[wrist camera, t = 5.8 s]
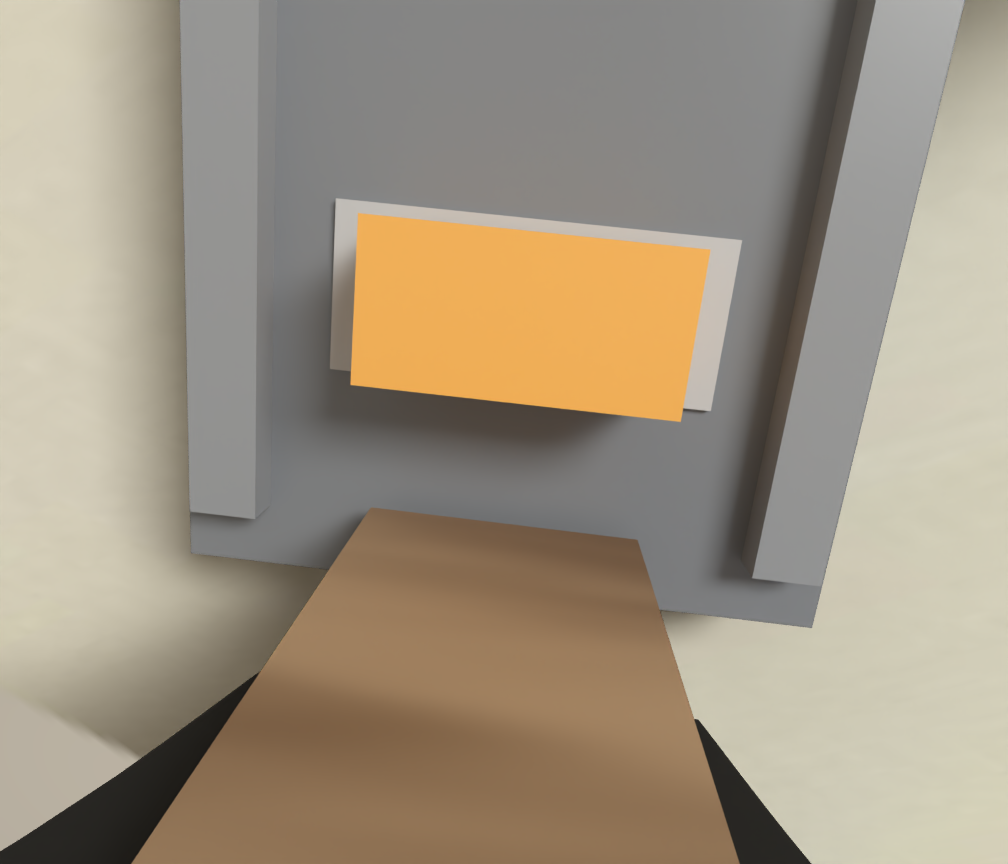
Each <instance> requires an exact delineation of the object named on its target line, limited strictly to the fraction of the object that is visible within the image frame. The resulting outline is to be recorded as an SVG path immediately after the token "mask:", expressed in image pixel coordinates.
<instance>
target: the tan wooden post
mask: <svg viewBox="0 0 1008 864" xmlns="http://www.w3.org/2000/svg"><path fill="white" fill-rule="evenodd" d="M132 864H740V863H739V860H738V857H737V854H736V851H735V848H734V844H733V841H732V838H731V835H730V832H729V828H728V825H727V822H726V819H725V816H724V813H723V809H722V806H721V803H720V800H719V797H718V794H717V790H716V787H715V784H714V781H713V778H712V774H711V771H710V768H709V765H708V762H707V759H706V755H705V752H704V749H703V746H702V743H701V740H700V736H699V733H698V730H697V727H696V724H695V721H694V717H693V714H692V711H691V708H690V705H689V701H688V698H687V695H686V692H685V689H684V686H683V682H682V679H681V676H680V673H679V670H678V667H677V663H676V660H675V657H674V654H673V651H672V648H671V644H670V641H669V638H668V635H667V632H666V628H665V625H664V622H663V619H662V616H661V613H660V609H659V606H658V603H657V600H656V597H655V594H654V590H653V587H652V584H651V581H650V578H649V574H648V571H647V568H646V565H645V562H644V559H643V555H642V552H641V549H640V546H639V543H638V540H636V539H628V538H619V537H611V536H603V535H595V534H586V533H578V532H570V531H562V530H554V529H545V528H537V527H529V526H521V525H513V524H504V523H496V522H488V521H480V520H472V519H463V518H455V517H447V516H439V515H430V514H422V513H414V512H406V511H398V510H389V509H381V508H373V507H371V508H370V509H369V511H368V512H367V514H366V515H365V517H364V518H363V520H362V521H361V523H360V524H359V526H358V527H357V529H356V530H355V532H354V533H353V535H352V536H351V538H350V539H349V541H348V542H347V544H346V545H345V547H344V548H343V550H342V551H341V553H340V554H339V556H338V557H337V559H336V560H335V562H334V563H333V564H332V566H331V567H330V569H329V570H328V572H327V573H326V575H325V576H324V578H323V579H322V581H321V582H320V584H319V585H318V587H317V588H316V590H315V591H314V593H313V594H312V596H311V597H310V599H309V600H308V602H307V603H306V605H305V606H304V608H303V609H302V611H301V612H300V614H299V615H298V617H297V618H296V620H295V621H294V623H293V624H292V626H291V627H290V628H289V630H288V631H287V633H286V634H285V636H284V637H283V639H282V640H281V642H280V643H279V645H278V646H277V648H276V649H275V651H274V652H273V654H272V655H271V657H270V658H269V660H268V661H267V663H266V664H265V666H264V667H263V669H262V670H261V672H260V673H259V675H258V676H257V678H256V679H255V681H254V682H253V684H252V685H251V687H250V688H249V689H248V691H247V692H246V694H245V695H244V697H243V698H242V700H241V701H240V703H239V704H238V706H237V707H236V709H235V710H234V712H233V713H232V715H231V716H230V718H229V719H228V721H227V722H226V724H225V725H224V727H223V728H222V730H221V731H220V733H219V734H218V736H217V737H216V739H215V740H214V742H213V743H212V745H211V746H210V748H209V749H208V750H207V752H206V753H205V755H204V756H203V758H202V759H201V761H200V762H199V764H198V765H197V767H196V768H195V770H194V771H193V773H192V774H191V776H190V777H189V779H188V780H187V782H186V783H185V785H184V786H183V788H182V789H181V791H180V792H179V794H178V795H177V797H176V798H175V800H174V801H173V803H172V804H171V806H170V807H169V809H168V810H167V812H166V813H165V814H164V816H163V817H162V819H161V820H160V822H159V823H158V825H157V826H156V828H155V829H154V831H153V832H152V834H151V835H150V837H149V838H148V840H147V841H146V843H145V844H144V846H143V847H142V849H141V850H140V852H139V853H138V855H137V856H136V858H135V859H134V861H133V862H132Z"/></svg>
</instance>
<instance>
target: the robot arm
mask: <svg viewBox="0 0 1008 864" xmlns="http://www.w3.org/2000/svg"><path fill="white" fill-rule="evenodd" d="M260 672H261V671H260ZM260 672H259V673H260ZM259 673H257V674H256V675H254V676H253V677H252V678H250V679H249V680H248V681H246V682H245V683H244V684H242V685H241V686H239V687H238V688H237V689H235V690H234V691H233V692H231V693H230V694H229V695H227V696H226V697H225V698H223V699H222V700H220V701H219V702H218V703H216V704H215V705H214V706H212V707H211V708H210V709H208V710H207V711H206V712H204V713H203V714H202V715H200V716H199V717H198V718H196V719H195V720H194V721H192V722H191V723H189V724H188V725H187V726H185V727H184V728H183V729H181V730H180V731H179V732H177V733H176V734H175V735H173V736H172V737H170V738H169V739H168V740H166V741H165V742H163V743H162V744H161V745H159V746H158V747H156V748H155V749H154V750H152V751H151V752H149V753H148V754H147V755H145V756H144V757H142V758H141V759H140V760H138V761H137V762H135V763H134V764H132V765H131V766H130V767H128V768H127V769H126V770H124V771H123V772H121V773H120V774H118V775H117V776H116V777H114V778H112V779H111V780H109V781H108V782H106V783H105V784H103V785H102V786H100V787H99V788H97V789H96V790H94V791H93V792H91V793H90V794H88V795H87V796H85V797H84V798H82V799H81V800H79V801H78V802H76V803H75V804H73V805H71V806H70V807H68V808H67V809H65V810H64V811H63V812H61V813H59V814H58V815H56V816H55V817H53V818H52V819H50V820H49V821H47V822H46V823H44V824H43V825H41V826H40V827H38V828H37V829H35V830H33V831H32V832H30V833H29V834H27V835H26V836H24V837H23V838H21V839H20V840H18V841H16V842H15V843H13V844H12V845H10V846H8V847H7V848H5V849H3V850H2V851H0V864H132V862H133V861H134V859H135V858H136V856H137V855H138V853H139V852H140V850H141V849H142V847H143V846H144V844H145V843H146V841H147V840H148V838H149V837H150V835H151V834H152V832H153V831H154V829H155V828H156V826H157V825H158V823H159V822H160V820H161V819H162V817H163V816H164V814H165V813H166V812H167V810H168V809H169V807H170V806H171V804H172V803H173V801H174V800H175V798H176V797H177V795H178V794H179V792H180V791H181V789H182V788H183V786H184V785H185V783H186V782H187V780H188V779H189V777H190V776H191V774H192V773H193V771H194V770H195V768H196V767H197V765H198V764H199V762H200V761H201V759H202V758H203V756H204V755H205V753H206V752H207V750H208V749H209V748H210V746H211V745H212V743H213V742H214V740H215V739H216V737H217V736H218V734H219V733H220V731H221V730H222V728H223V727H224V725H225V724H226V722H227V721H228V719H229V718H230V716H231V715H232V713H233V712H234V710H235V709H236V707H237V706H238V704H239V703H240V701H241V700H242V698H243V697H244V695H245V694H246V692H247V691H248V689H249V688H250V687H251V685H252V684H253V682H254V681H255V679H256V678H257V676H258V675H259ZM694 721H695V724H696V727H697V730H698V733H699V736H700V740H701V743H702V746H703V749H704V752H705V755H706V759H707V762H708V765H709V768H710V771H711V774H712V778H713V781H714V784H715V787H716V790H717V794H718V797H719V800H720V803H721V806H722V809H723V813H724V816H725V819H726V822H727V825H728V828H729V832H730V835H731V838H732V841H733V844H734V848H735V851H736V854H737V857H738V860H739V863H740V864H811V863H810V862H809V860H808V859H807V858H806V857H805V855H804V854H803V853H802V852H801V851H800V849H799V848H798V847H797V846H796V844H795V843H794V842H793V841H792V840H791V838H790V837H789V836H788V835H787V834H786V832H785V831H784V830H783V828H782V827H781V826H780V825H779V823H778V822H777V821H776V820H775V818H774V817H773V816H772V815H771V813H770V812H769V811H768V810H767V808H766V807H765V806H764V804H763V803H762V802H761V800H760V799H759V798H758V797H757V795H756V794H755V793H754V791H753V790H752V789H751V788H750V786H749V785H748V784H747V782H746V781H745V780H744V778H743V777H742V776H741V775H740V773H739V772H738V771H737V769H736V768H735V767H734V765H733V764H732V763H731V761H730V760H729V759H728V758H727V756H726V755H725V754H724V752H723V751H722V750H721V748H720V747H719V746H718V745H717V743H716V742H715V741H714V739H713V738H712V737H711V735H710V734H709V733H708V731H707V730H706V729H705V728H704V726H703V725H702V724H701V722H700V721H699V720H697V719H694Z"/></svg>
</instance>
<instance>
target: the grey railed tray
mask: <svg viewBox="0 0 1008 864" xmlns="http://www.w3.org/2000/svg"><path fill="white" fill-rule="evenodd" d="M964 3H965V0H180V42H181V93H182V144H183V195H184V247H185V298H186V349H187V400H188V451H189V502H190V522H191V553H195V554H203V555H212V556H220V557H228V558H236V559H245V560H253V561H261V562H270V563H278V564H286V565H294V566H303V567H311V568H319V569H328V570H329V569H330V567H331V566H332V564H333V563H334V562H335V560H336V559H337V557H338V556H339V554H340V553H341V551H342V550H343V548H344V547H345V545H346V544H347V542H348V541H349V539H350V538H351V536H352V535H353V533H354V532H355V530H356V529H357V527H358V526H359V524H360V523H361V521H362V520H363V518H364V517H365V515H366V514H367V512H368V511H369V509H370V508H371V507H373V508H381V509H389V510H398V511H406V512H414V513H422V514H430V515H439V516H447V517H455V518H463V519H472V520H480V521H488V522H496V523H504V524H513V525H521V526H529V527H537V528H545V529H554V530H562V531H570V532H578V533H586V534H595V535H603V536H611V537H619V538H628V539H636V540H638V543H639V546H640V549H641V552H642V555H643V559H644V562H645V565H646V568H647V571H648V574H649V578H650V581H651V584H652V587H653V590H654V594H655V597H656V600H657V603H658V606H659V609H660V610H667V611H675V612H684V613H692V614H700V615H708V616H717V617H725V618H733V619H742V620H750V621H758V622H766V623H775V624H783V625H791V626H800V627H808V628H812V625H813V621H814V617H815V613H816V609H817V605H818V601H819V597H820V593H821V588H822V584H823V580H824V576H825V572H826V568H827V564H828V560H829V556H830V552H831V548H832V543H833V539H834V535H835V531H836V527H837V523H838V519H839V515H840V511H841V507H842V502H843V498H844V494H845V490H846V486H847V482H848V478H849V474H850V470H851V466H852V462H853V457H854V453H855V449H856V445H857V441H858V437H859V433H860V429H861V425H862V421H863V417H864V412H865V408H866V404H867V400H868V396H869V392H870V388H871V384H872V380H873V376H874V372H875V367H876V363H877V359H878V355H879V351H880V347H881V343H882V339H883V335H884V331H885V327H886V322H887V318H888V314H889V310H890V306H891V302H892V298H893V294H894V290H895V286H896V282H897V277H898V273H899V269H900V265H901V261H902V257H903V253H904V249H905V245H906V241H907V236H908V232H909V228H910V224H911V220H912V216H913V212H914V208H915V204H916V200H917V196H918V191H919V187H920V183H921V179H922V175H923V171H924V167H925V163H926V159H927V155H928V151H929V146H930V142H931V138H932V134H933V130H934V126H935V122H936V118H937V114H938V110H939V106H940V101H941V97H942V93H943V89H944V85H945V81H946V77H947V73H948V69H949V65H950V61H951V56H952V52H953V48H954V44H955V40H956V36H957V32H958V28H959V24H960V20H961V16H962V11H963V7H964ZM358 213H363V214H373V215H382V216H392V217H402V218H411V219H421V220H430V221H440V222H450V223H459V224H469V225H479V226H488V227H498V228H507V229H517V230H527V231H536V232H546V233H556V234H565V235H575V236H584V237H594V238H604V239H613V240H623V241H633V242H642V243H652V244H661V245H671V246H681V247H690V248H700V249H710V250H711V251H710V256H709V262H708V268H707V274H706V279H705V285H704V291H703V297H702V302H701V308H700V314H699V320H698V326H697V331H696V337H695V343H694V349H693V354H692V360H691V366H690V372H689V377H688V383H687V389H686V395H685V401H684V406H683V412H682V418H681V422H677V421H668V420H659V419H650V418H641V417H632V416H623V415H615V414H606V413H597V412H588V411H579V410H570V409H561V408H552V407H543V406H534V405H525V404H516V403H507V402H498V401H489V400H481V399H472V398H463V397H454V396H445V395H436V394H427V393H418V392H409V391H400V390H391V389H382V388H373V387H364V386H356V385H351V362H352V339H353V316H354V293H355V270H356V247H357V224H358Z"/></svg>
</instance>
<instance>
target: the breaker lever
mask: <svg viewBox="0 0 1008 864" xmlns="http://www.w3.org/2000/svg"><path fill="white" fill-rule="evenodd" d="M710 251H711V250H710V249H700V248H690V247H681V246H671V245H661V244H652V243H642V242H633V241H623V240H613V239H604V238H594V237H584V236H575V235H565V234H556V233H546V232H536V231H527V230H517V229H507V228H498V227H488V226H479V225H469V224H459V223H450V222H440V221H430V220H421V219H411V218H402V217H392V216H382V215H373V214H363V213H358V224H357V247H356V270H355V293H354V316H353V339H352V362H351V385H356V386H364V387H373V388H382V389H391V390H400V391H409V392H418V393H427V394H436V395H445V396H454V397H463V398H472V399H481V400H489V401H498V402H507V403H516V404H525V405H534V406H543V407H552V408H561V409H570V410H579V411H588V412H597V413H606V414H615V415H623V416H632V417H641V418H650V419H659V420H668V421H677V422H681V418H682V412H683V406H684V401H685V395H686V389H687V383H688V377H689V372H690V366H691V360H692V354H693V349H694V343H695V337H696V331H697V326H698V320H699V314H700V308H701V302H702V297H703V291H704V285H705V279H706V274H707V268H708V262H709V256H710Z"/></svg>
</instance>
